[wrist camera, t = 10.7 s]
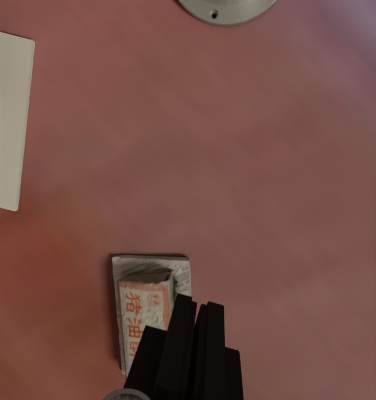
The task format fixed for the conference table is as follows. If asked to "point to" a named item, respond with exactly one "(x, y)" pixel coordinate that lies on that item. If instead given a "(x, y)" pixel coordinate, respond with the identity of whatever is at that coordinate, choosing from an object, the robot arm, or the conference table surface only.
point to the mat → (13, 113)
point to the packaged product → (146, 296)
